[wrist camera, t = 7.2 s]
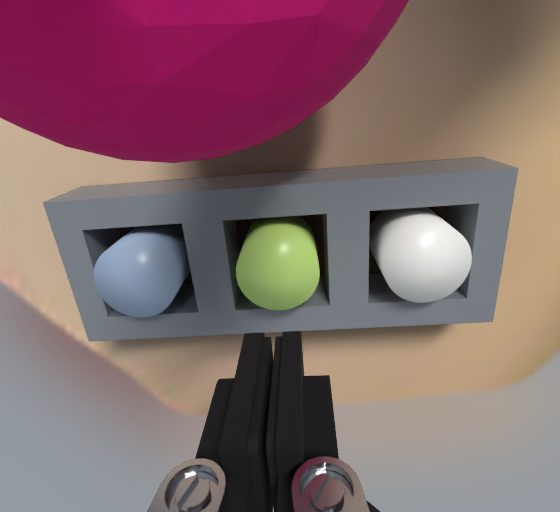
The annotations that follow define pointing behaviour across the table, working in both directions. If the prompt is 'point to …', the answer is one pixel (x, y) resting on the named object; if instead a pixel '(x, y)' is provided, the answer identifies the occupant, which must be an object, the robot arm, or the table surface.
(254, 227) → the lime button
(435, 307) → the panel
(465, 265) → the white rounded piece
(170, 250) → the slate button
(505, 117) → the table surface
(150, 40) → the pepper mill
